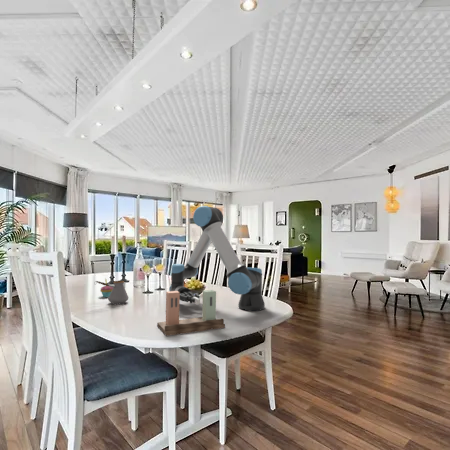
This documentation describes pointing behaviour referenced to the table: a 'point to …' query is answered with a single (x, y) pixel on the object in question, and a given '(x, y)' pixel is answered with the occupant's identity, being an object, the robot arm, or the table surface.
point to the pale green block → (209, 305)
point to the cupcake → (106, 290)
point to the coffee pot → (117, 292)
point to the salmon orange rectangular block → (172, 307)
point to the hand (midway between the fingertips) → (198, 301)
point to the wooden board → (190, 326)
